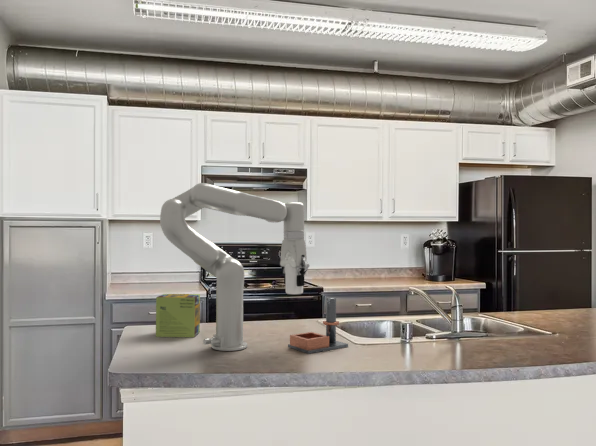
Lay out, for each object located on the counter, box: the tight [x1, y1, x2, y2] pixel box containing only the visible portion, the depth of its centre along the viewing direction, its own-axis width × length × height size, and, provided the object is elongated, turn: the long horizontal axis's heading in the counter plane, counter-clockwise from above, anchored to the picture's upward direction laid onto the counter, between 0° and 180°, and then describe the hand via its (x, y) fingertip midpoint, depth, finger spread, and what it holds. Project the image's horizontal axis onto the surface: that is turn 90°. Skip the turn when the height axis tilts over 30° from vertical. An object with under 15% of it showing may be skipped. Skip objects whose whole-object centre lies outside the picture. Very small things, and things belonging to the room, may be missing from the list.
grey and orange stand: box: [287, 297, 349, 355], centre depth 198 cm, size 18×12×17 cm, turn 127°
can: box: [284, 264, 304, 296], centre depth 202 cm, size 6×6×12 cm
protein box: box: [155, 293, 201, 338], centre depth 218 cm, size 10×15×16 cm
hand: (294, 284), depth 202 cm, fingers closed on can, 6 cm apart
